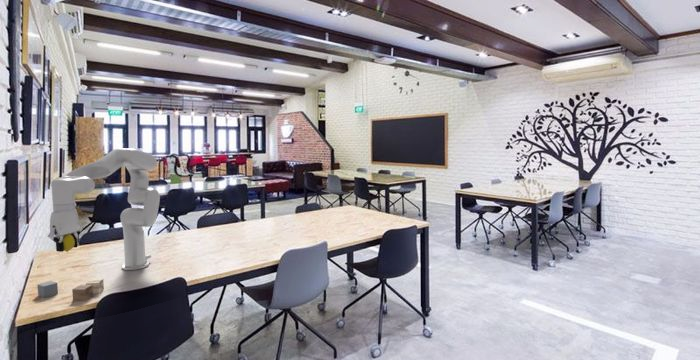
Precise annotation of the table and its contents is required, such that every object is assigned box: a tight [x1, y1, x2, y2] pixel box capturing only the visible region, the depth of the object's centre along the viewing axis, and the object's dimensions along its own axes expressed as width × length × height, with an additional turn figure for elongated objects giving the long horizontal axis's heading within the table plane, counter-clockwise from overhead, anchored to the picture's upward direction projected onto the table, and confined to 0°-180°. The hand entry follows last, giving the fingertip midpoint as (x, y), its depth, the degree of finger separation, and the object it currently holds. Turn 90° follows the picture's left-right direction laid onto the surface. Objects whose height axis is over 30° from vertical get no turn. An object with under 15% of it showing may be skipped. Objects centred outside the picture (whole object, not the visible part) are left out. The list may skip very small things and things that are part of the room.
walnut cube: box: [71, 284, 94, 302], centre depth 159 cm, size 5×5×5 cm
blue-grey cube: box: [37, 280, 59, 299], centre depth 162 cm, size 5×5×5 cm
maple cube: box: [85, 278, 105, 295], centre depth 166 cm, size 5×5×5 cm
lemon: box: [62, 234, 75, 253], centre depth 160 cm, size 6×6×8 cm
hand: (67, 248), depth 161 cm, fingers closed on lemon, 5 cm apart
